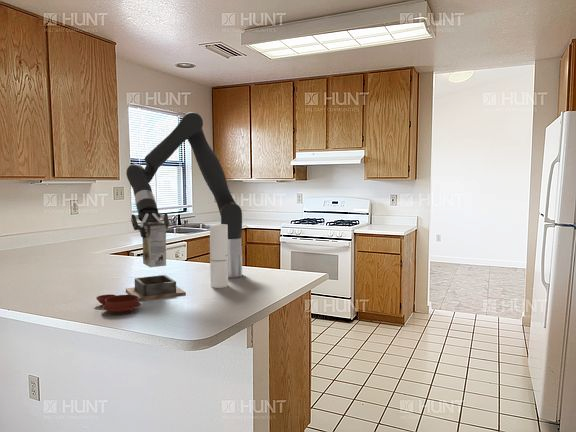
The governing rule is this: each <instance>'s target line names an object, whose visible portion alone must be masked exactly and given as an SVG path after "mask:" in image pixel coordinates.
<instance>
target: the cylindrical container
mask: <svg viewBox="0 0 576 432" xmlns="http://www.w3.org/2000/svg"><path fill="white" fill-rule="evenodd" d="M209 263H210V264H209V265H210V267H209V268H210V273H209V275H210V280H209V281H210V287H211V288H213V289H214V288H217V289H218V288H219V289H222V288H227V287H228V286H229V278H228V225H227V224H221V223H213V224H209Z"/></svg>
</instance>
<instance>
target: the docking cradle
mask: <svg viewBox="0 0 576 432" xmlns="http://www.w3.org/2000/svg"><path fill="white" fill-rule="evenodd" d="M125 292H126V293H127V295H135V296H138V302H143V301H152V300H157V299H165V298H172V297H178V296H186V295H187V293H186V292H187V291H185V290H183V289H181V287H178V286H177V281H176V280H174V279H173V278H171V277H170V276H168V275H166V274H159V275H151V276H143V277H142V276H141V277H136V278H134V287H128V288H125Z"/></svg>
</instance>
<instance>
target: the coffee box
mask: <svg viewBox="0 0 576 432" xmlns="http://www.w3.org/2000/svg"><path fill="white" fill-rule="evenodd" d="M143 225H144V226H143V228H144V229H145V233H146V237H145V238H143V237H142V263H143V264H144V265H146V266H147V267H149V268H157V267H166V266H167V230H166V224H164V222H163V223H161V222H145V223H143Z"/></svg>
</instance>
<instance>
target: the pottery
mask: <svg viewBox="0 0 576 432" xmlns="http://www.w3.org/2000/svg"><path fill="white" fill-rule="evenodd" d="M95 299H96V300H97V301H98V303H100V304H101V306H102V309H103V310H104V311H106V312H107V311H108V312H111V313H112V314H115V315H124V314H129V313H131V312H132V311H133V310H134V309H137V308H139V307H141V305H142V303H141V301H138V296H135V295H129V294H120V295H119V294H117V295H116V294H101V295H98V296H96V297H95Z"/></svg>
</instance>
